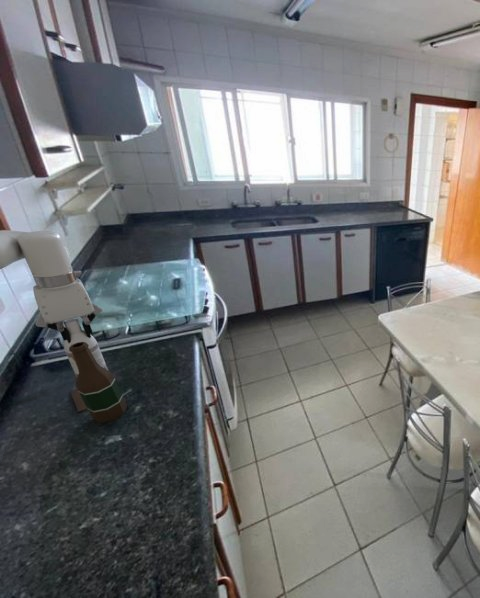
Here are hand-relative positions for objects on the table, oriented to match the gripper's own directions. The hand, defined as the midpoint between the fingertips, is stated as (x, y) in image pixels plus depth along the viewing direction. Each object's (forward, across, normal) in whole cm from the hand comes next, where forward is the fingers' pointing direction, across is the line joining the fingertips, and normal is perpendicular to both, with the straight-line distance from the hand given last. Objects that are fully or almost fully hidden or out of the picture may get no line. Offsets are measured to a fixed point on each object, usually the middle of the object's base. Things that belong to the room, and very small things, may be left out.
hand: (79, 338), depth 94 cm
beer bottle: (+20, 0, +13) cm, 24 cm away
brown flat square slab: (+20, 0, 0) cm, 20 cm away
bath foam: (+15, 0, 0) cm, 15 cm away
